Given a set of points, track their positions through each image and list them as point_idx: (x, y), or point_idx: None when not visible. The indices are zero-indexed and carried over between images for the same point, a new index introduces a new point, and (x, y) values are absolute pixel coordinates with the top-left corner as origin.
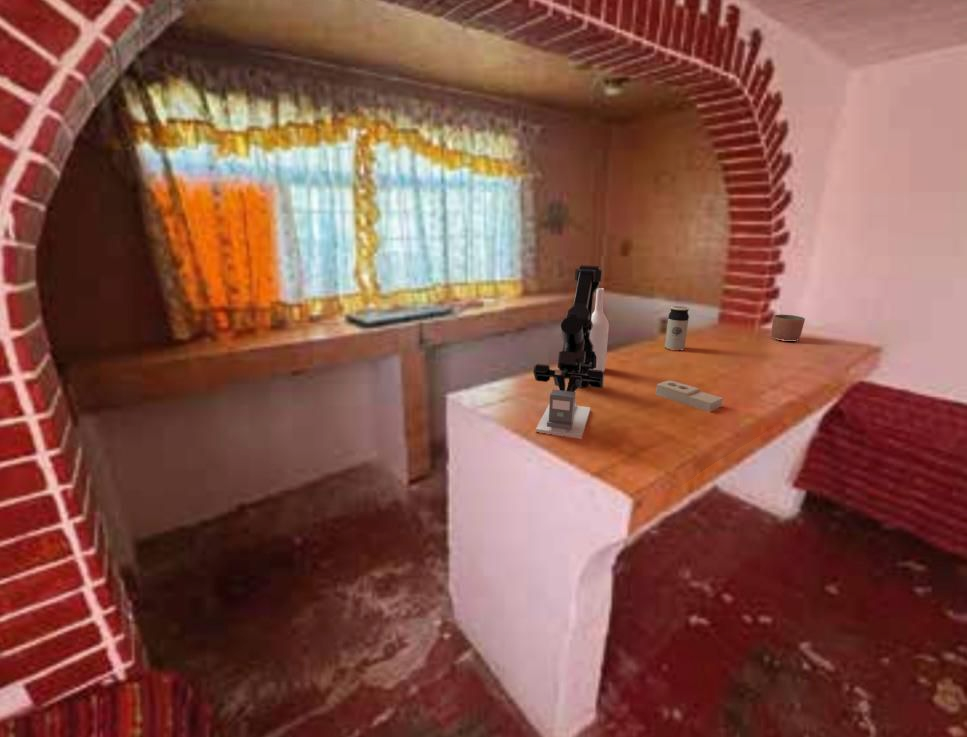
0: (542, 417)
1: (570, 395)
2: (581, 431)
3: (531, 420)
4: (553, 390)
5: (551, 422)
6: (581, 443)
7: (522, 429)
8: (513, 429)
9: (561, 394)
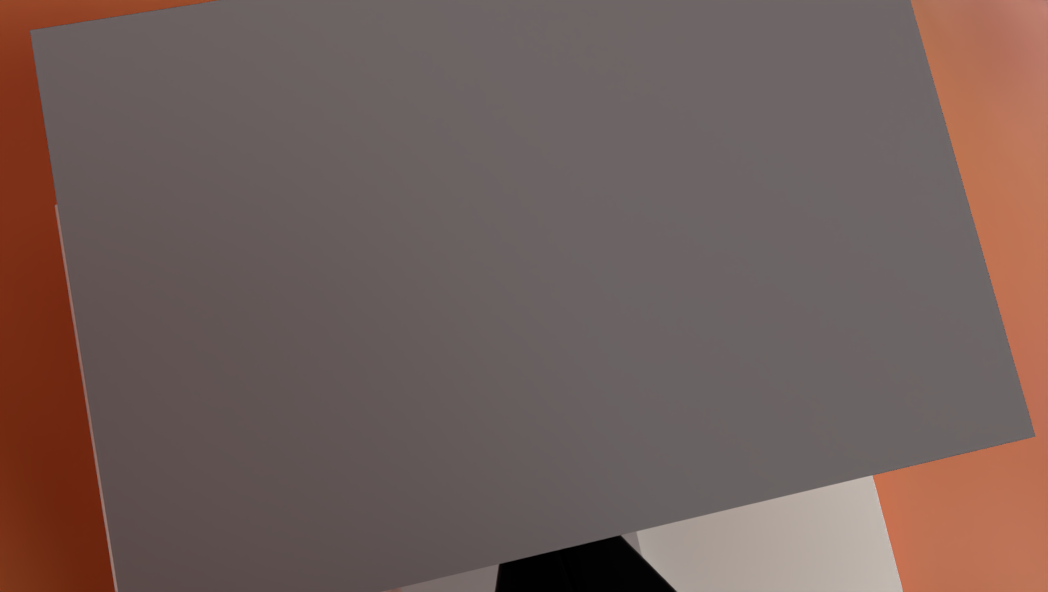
0: (880, 540)
1: (195, 153)
2: None
3: (995, 458)
4: (970, 344)
5: None
6: (36, 85)
7: (943, 99)
8: (1041, 39)
9: (542, 93)
